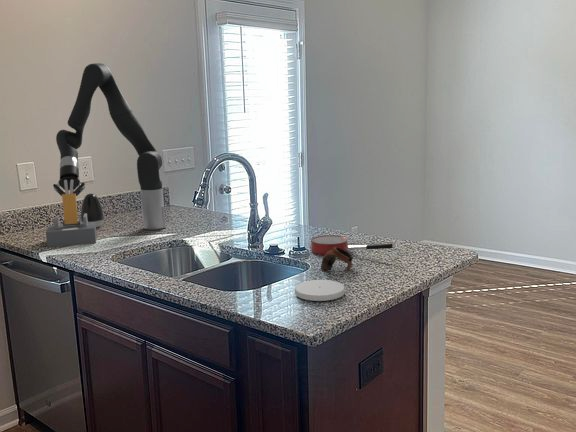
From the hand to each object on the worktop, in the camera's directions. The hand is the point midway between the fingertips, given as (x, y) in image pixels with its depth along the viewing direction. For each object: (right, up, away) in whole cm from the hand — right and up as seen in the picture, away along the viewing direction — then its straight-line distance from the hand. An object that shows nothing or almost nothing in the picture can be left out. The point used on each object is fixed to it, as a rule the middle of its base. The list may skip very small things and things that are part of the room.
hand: (69, 203), depth 246 cm
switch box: (+2, -15, -1) cm, 15 cm away
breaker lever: (+1, -9, -1) cm, 9 cm away
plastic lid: (+98, -28, -74) cm, 126 cm away
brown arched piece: (+104, -23, -51) cm, 118 cm away
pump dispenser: (+2, -10, +25) cm, 27 cm away
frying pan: (+112, -19, -33) cm, 118 cm away
